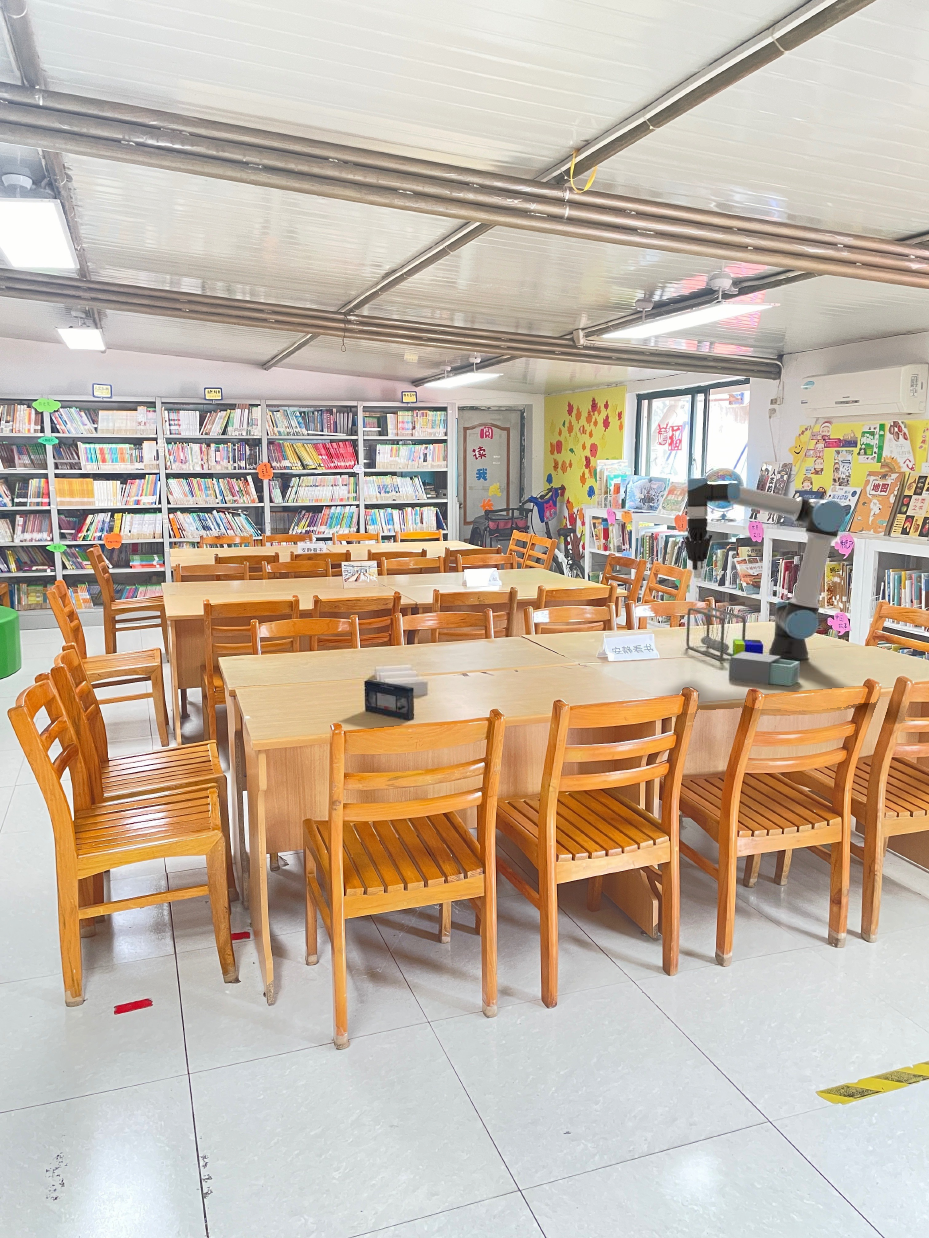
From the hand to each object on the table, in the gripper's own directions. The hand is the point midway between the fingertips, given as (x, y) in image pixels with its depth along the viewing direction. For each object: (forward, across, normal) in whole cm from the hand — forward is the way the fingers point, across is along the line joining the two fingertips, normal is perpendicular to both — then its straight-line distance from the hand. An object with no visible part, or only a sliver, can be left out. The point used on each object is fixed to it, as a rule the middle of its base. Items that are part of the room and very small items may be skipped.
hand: (697, 577), depth 345 cm
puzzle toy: (+35, -11, +16) cm, 40 cm away
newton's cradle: (+34, -16, -10) cm, 39 cm away
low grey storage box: (+34, +1, +33) cm, 48 cm away
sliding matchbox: (+34, -1, +36) cm, 49 cm away
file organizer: (+30, +122, -12) cm, 126 cm away
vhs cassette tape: (+31, +138, +25) cm, 144 cm away
